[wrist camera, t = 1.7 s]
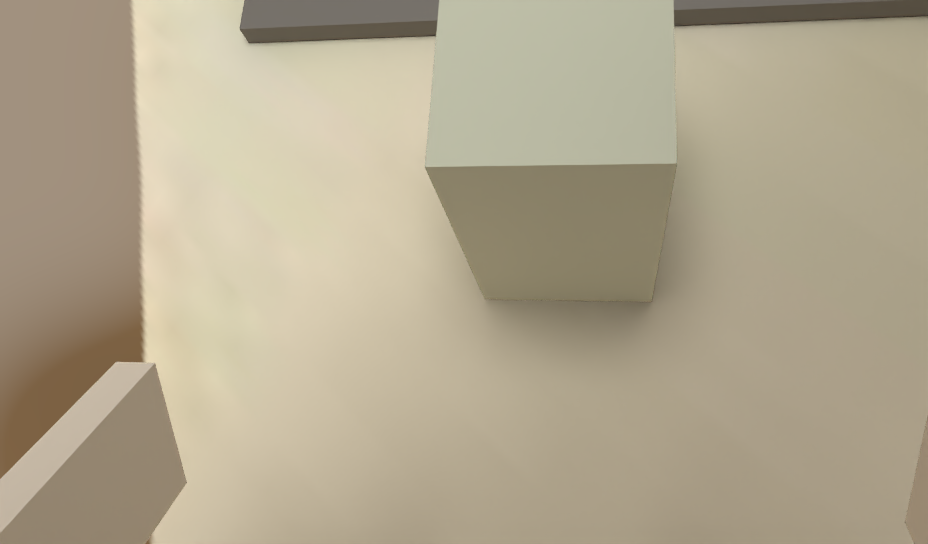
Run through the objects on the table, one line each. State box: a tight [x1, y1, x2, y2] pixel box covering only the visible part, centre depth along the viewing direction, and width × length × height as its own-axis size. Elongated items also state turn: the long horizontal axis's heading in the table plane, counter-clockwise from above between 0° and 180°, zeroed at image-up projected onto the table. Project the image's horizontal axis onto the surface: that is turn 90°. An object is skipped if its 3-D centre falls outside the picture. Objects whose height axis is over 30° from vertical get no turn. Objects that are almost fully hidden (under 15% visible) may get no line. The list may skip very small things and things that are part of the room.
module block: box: [425, 0, 677, 302], centre depth 26 cm, size 6×7×11 cm
